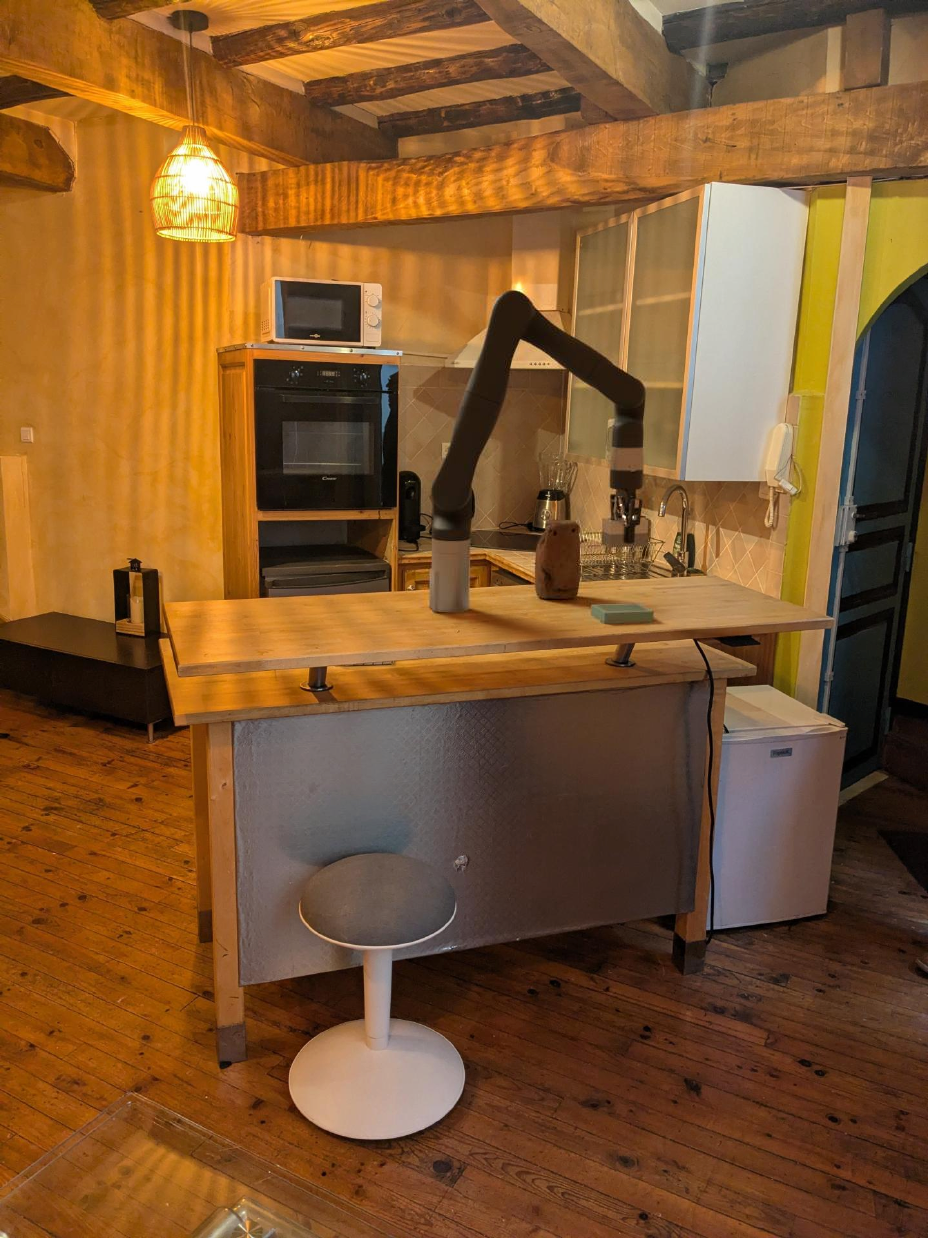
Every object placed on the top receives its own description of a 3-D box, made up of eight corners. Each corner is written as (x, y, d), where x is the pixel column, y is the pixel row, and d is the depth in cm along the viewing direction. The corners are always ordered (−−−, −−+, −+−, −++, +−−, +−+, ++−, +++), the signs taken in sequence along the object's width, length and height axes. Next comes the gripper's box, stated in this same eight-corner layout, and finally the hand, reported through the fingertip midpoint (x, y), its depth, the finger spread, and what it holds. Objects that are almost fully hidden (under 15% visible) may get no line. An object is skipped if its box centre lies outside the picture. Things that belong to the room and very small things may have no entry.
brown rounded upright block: (569, 593, 251) (573, 518, 246) (581, 599, 244) (584, 522, 239) (531, 595, 248) (533, 519, 243) (541, 601, 241) (544, 522, 236)
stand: (604, 623, 218) (604, 612, 217) (590, 615, 226) (591, 604, 226) (653, 621, 220) (653, 611, 220) (638, 613, 229) (638, 603, 228)
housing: (610, 547, 216) (611, 518, 214) (601, 544, 221) (602, 515, 220) (647, 546, 218) (648, 516, 216) (637, 542, 223) (638, 514, 222)
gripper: (600, 465, 222) (598, 537, 225) (622, 470, 208) (620, 546, 212) (630, 465, 223) (627, 536, 227) (655, 469, 209) (652, 545, 213)
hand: (624, 541), depth 219 cm, fingers closed on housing, 5 cm apart
